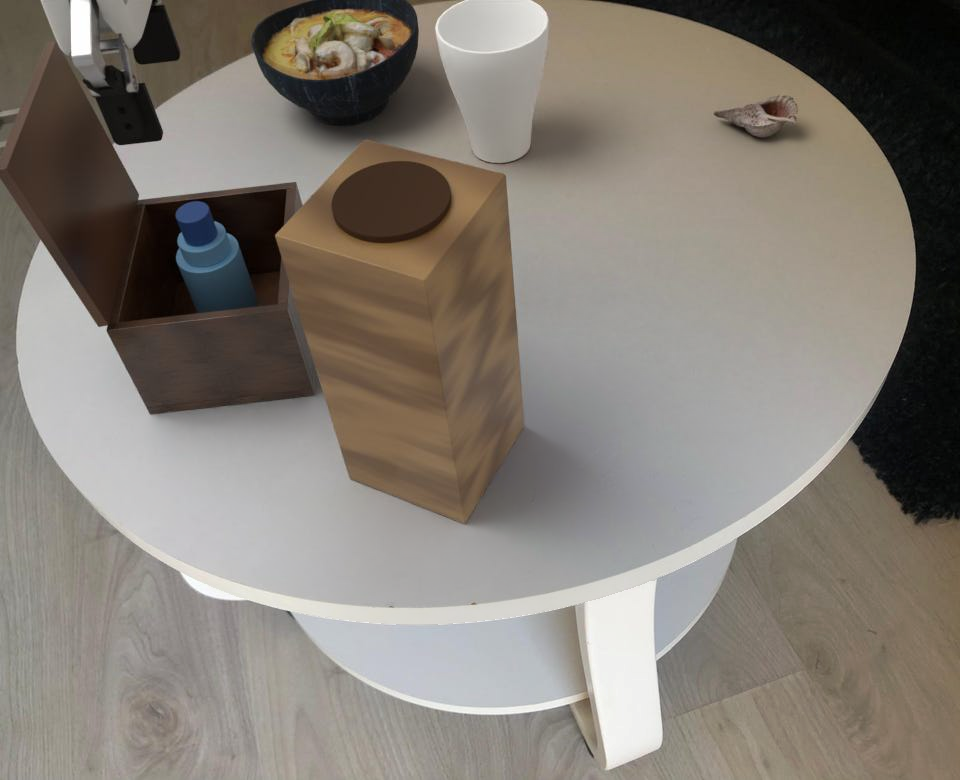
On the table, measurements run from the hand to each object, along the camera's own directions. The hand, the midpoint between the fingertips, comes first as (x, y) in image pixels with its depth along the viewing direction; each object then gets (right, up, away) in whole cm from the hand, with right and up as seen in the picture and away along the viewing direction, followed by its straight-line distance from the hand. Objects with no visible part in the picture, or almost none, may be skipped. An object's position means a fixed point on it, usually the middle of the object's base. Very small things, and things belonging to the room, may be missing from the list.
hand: (150, 98), depth 69 cm
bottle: (+2, -15, +17) cm, 23 cm away
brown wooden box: (+2, -16, +18) cm, 24 cm away
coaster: (+18, -9, -10) cm, 23 cm away
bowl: (+9, +11, +40) cm, 42 cm away
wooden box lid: (-6, -5, +4) cm, 9 cm away
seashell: (+51, +6, +31) cm, 60 cm away
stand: (+20, -25, +8) cm, 33 cm away
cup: (+25, +5, +33) cm, 41 cm away
